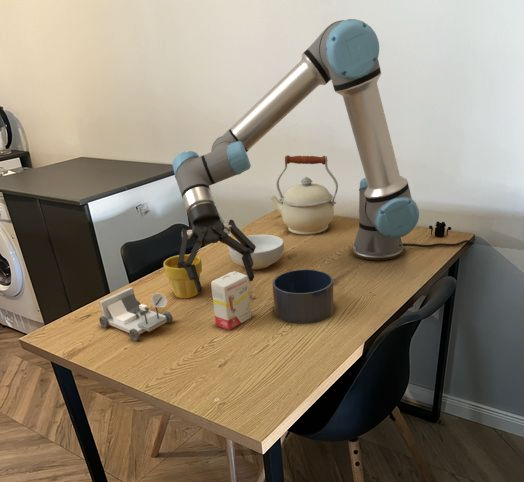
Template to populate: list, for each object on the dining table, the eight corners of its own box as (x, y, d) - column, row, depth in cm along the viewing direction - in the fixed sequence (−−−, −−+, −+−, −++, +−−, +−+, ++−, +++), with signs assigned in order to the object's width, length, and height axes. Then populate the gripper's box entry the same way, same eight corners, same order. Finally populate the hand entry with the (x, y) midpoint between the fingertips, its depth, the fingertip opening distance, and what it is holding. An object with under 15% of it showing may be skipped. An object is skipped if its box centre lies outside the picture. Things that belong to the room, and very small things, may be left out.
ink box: (229, 331, 134) (223, 286, 128) (215, 325, 137) (209, 282, 131) (252, 317, 139) (248, 274, 133) (238, 312, 142) (234, 270, 136)
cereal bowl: (286, 253, 175) (285, 232, 172) (283, 274, 161) (281, 251, 158) (234, 255, 177) (232, 234, 174) (226, 276, 163) (223, 253, 160)
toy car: (174, 290, 133) (137, 308, 126) (180, 325, 138) (145, 345, 131) (128, 275, 144) (91, 291, 136) (135, 308, 149) (100, 326, 141)
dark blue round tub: (316, 292, 149) (316, 264, 145) (344, 314, 137) (344, 285, 133) (265, 305, 145) (263, 277, 140) (289, 328, 132) (287, 299, 128)
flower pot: (212, 288, 157) (207, 255, 152) (193, 303, 149) (188, 270, 144) (181, 284, 161) (176, 252, 156) (161, 298, 153) (155, 266, 148)
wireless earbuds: (427, 236, 179) (429, 221, 176) (429, 234, 181) (430, 219, 178) (450, 238, 176) (451, 223, 173) (451, 235, 178) (452, 220, 175)
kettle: (345, 222, 198) (345, 150, 185) (329, 239, 184) (328, 162, 171) (281, 218, 208) (277, 149, 195) (261, 234, 193) (255, 161, 181)
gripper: (244, 209, 147) (269, 280, 142) (153, 226, 140) (176, 301, 135) (249, 193, 140) (276, 267, 135) (153, 210, 133) (178, 289, 128)
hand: (226, 284), depth 135 cm, fingers open, 13 cm apart
